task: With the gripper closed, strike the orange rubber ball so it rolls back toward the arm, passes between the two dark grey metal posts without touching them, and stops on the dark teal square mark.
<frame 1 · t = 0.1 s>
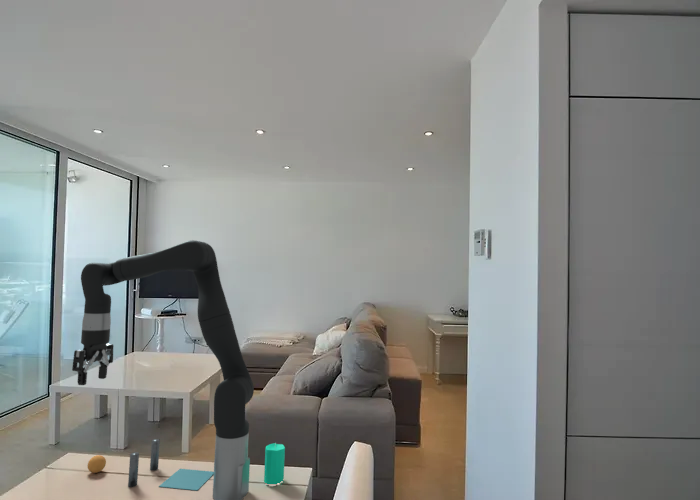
hand: (92, 381, 130), 29 cm above the table, tool pointing down, fingers open, 8 cm apart
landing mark: (188, 479, 131), on the table
candle: (273, 482, 131), on the table
left post: (132, 485, 127), on the table
ball: (96, 464, 134), on the table
right post: (154, 469, 137), on the table
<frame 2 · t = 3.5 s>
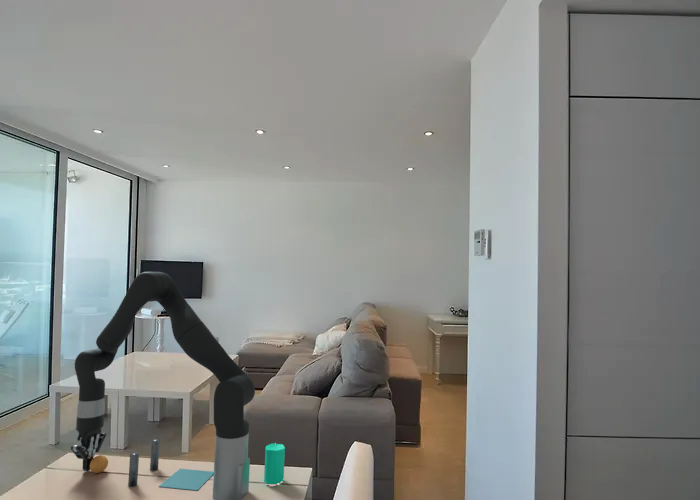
hand: (87, 469, 134), 1 cm above the table, tool pointing down, fingers closed
ball: (98, 464, 134), on the table, touching gripper
everything else where it was.
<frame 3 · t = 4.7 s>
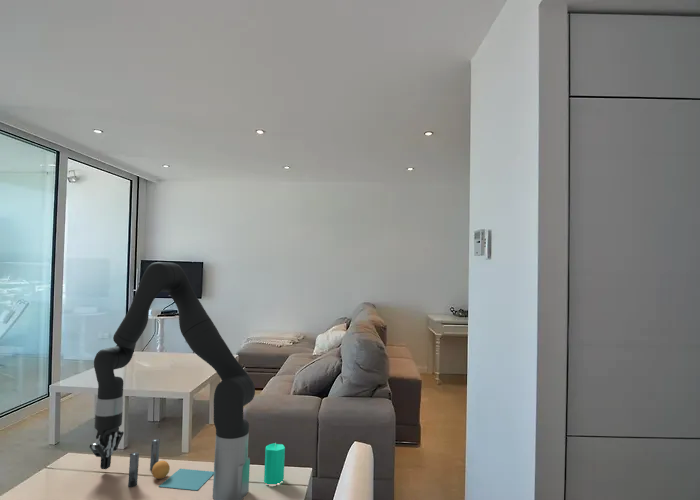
hand: (105, 468, 134), 2 cm above the table, tool pointing down, fingers closed
ball: (160, 469, 132), on the table
everything else where it was.
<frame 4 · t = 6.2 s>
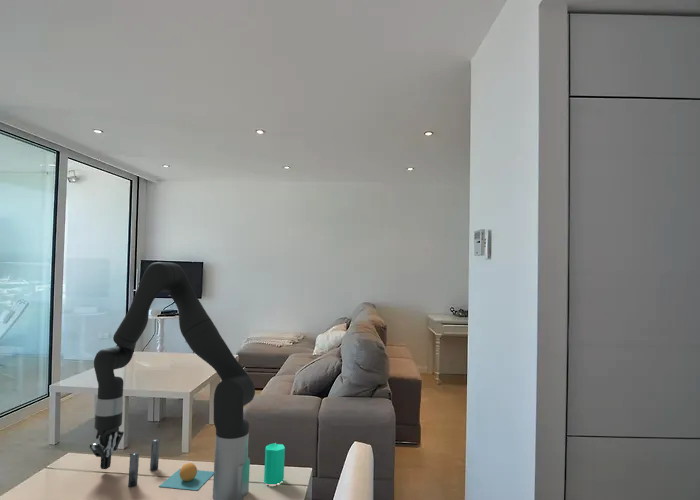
hand: (105, 468, 134), 2 cm above the table, tool pointing down, fingers closed
ball: (188, 472, 131), on the table
everything else where it was.
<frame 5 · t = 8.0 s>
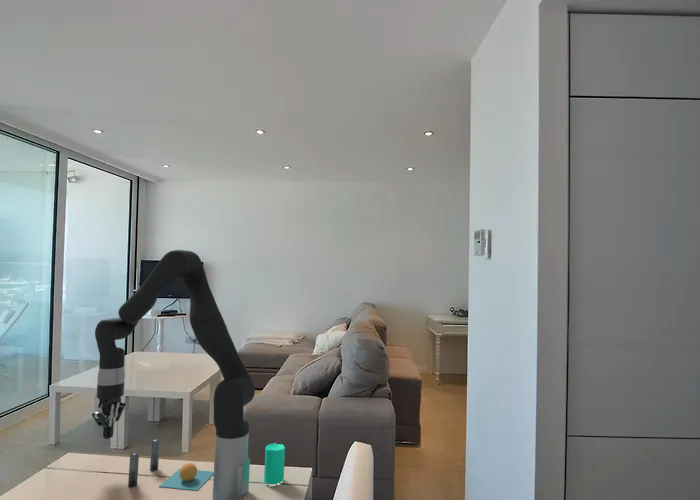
hand: (108, 437, 134), 11 cm above the table, tool pointing down, fingers closed
nothing on the table moved.
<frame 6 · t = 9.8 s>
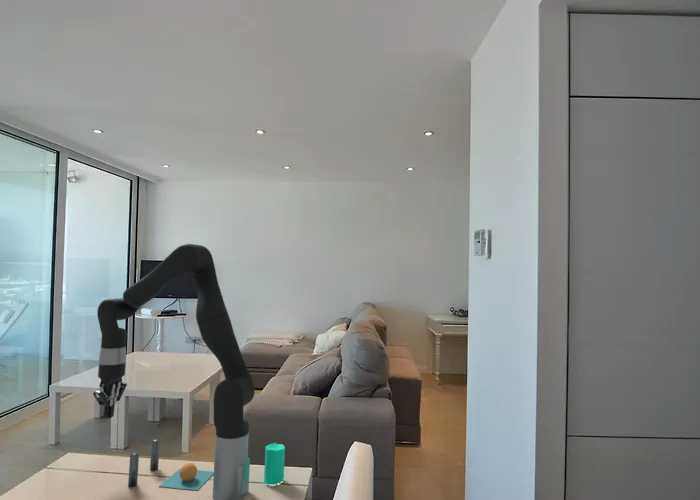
hand: (108, 417, 135), 17 cm above the table, tool pointing down, fingers closed
nothing on the table moved.
at the end: ball 0.7 cm from the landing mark (horizontally); ball never touched left post; ball never touched right post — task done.
